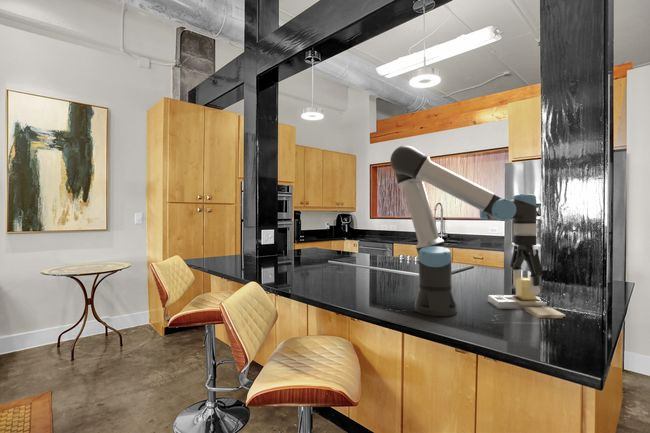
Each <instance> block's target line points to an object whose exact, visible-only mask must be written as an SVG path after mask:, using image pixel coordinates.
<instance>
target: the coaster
mask: <svg viewBox="0 0 650 433" xmlns="http://www.w3.org/2000/svg"><path fill="white" fill-rule="evenodd" d="M550 307H551V306H550ZM550 307H524V309H523V310H524V311H525V312H527V313H528V314H530V315H532V316H534V317H535V318H537V319H538V318H539V319H564V318H563V317H566V318H567V316H566V314H565V313H563V312H561V311H559V310H557V309H554V308H553V307H551V308H550Z"/></svg>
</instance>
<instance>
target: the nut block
mask: <svg viewBox="0 0 650 433" xmlns="http://www.w3.org/2000/svg"><path fill="white" fill-rule="evenodd" d="M515 295H516V299H517V300H519V301H536V296H537V295H531V294H530V277H521V278H516V286H515Z"/></svg>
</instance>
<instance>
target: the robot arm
mask: <svg viewBox="0 0 650 433" xmlns="http://www.w3.org/2000/svg"><path fill="white" fill-rule="evenodd" d="M390 166H391V169H393V171H394V175H395V178H396V181H397V185H398V186H400V187H402V190H403V192H404V196H405V199H406V202H407V203H406V204H407V206H408V207H407V208H408V210H409V214H410V217H411V220H412V223H413V227H414V232H415V235H416V239H417V244H416V246H415V248H416V252H417V258H418V292H417V295H416V298H415V302H414V311H416V312H417V313H419V314H422V315H425V316H433V317H448V316H449V317H450V316H454V315H456V314H457V313H458V305H457V303H456V299H455V297H454V294H453V289H452V286H453V284H452V283H453V282H452V278H453V277H452V275H453V274H452V260H453V255H452V252H451V250H450V249H449V248H447V246H446V242H445V240H444V239H443V238H442V237H441V238H440V235H439V232H438V229H437V225H436V221H435V218H434V214H433V210H432V207H431V203H430V201H429V197H428V193H427V190H426V187H425V183H424V182H426V183H427V184H430V185H431V186H433V187H434V188H437V189H439V190H441V191H443V192H445V193H446V194H449V195H451V196H452V197H453V198H456V199H458V200H460V201H462V202H464V203H466V204H467V205H470V206H471V207H474V208H475V209H477V210H479V216H480V219H481V220H489V221H491V220H496V221H497V220H498V221H500V222H504V221H508V220H513V234H514V236H513V244H514V246H513V252H512V256H511V261H510V264H509V265H510V267H511V268H512V272H513V273H512V274H513V275H512V277H513V280H512V282H513V284H512V286H513V287H516V278H522V266H523V263H524V261H525V262H526V264H527V267H528V268H529V272H530V275H529V278H530V294H531V295H536V296H540V278H541V277H543V276H544V271H543V269H542V264H541V260H540V255H539V249H538V248H534V246H537V244H538V237H537V235H536V234H538V233H537V229H538V226H537V207H538V205H537V196H536V195H535V194H532V193H522V194H517V193H516V194H514V195H513V198H512V199H509V198H505V197H502V196H500V195H498V194H496V193H494V192H492V191H490V190H488V189H487V188H484V187H483V186H482V185H479V184H477V183H474V182H473V181H471V180H469V179H467V178H465V177H464V176H461V175H459V174H457V173H455V172H454V171H451V170H449V169H447V168H445V167H443V166H441V165H440V164H438V163H435V162H433V161H432V160H431V157H430V156H428V155H426V154H424V153H422V152H421V151H419V150H418V149H416V148H415V147H414V146H410V145H401V146H398V147H397V148H395V149H394V150H393V152H392V153H391V155H390Z"/></svg>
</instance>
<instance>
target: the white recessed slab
mask: <svg viewBox="0 0 650 433" xmlns="http://www.w3.org/2000/svg"><path fill="white" fill-rule="evenodd" d="M540 298H541V297H540V296H539V295H536V301H519V300H517V299H516V294H510V295H509V294H495V295H494V294H488V295H487V302H489V304H491V305H492V306H494V307H496V308H497V309H498V310H499V309H501V310H505V309H509V310H510V309H511V310H514V309H515V310H524V307H542V306H544V305H546V304H547V302H543V301H541V299H540Z"/></svg>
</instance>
